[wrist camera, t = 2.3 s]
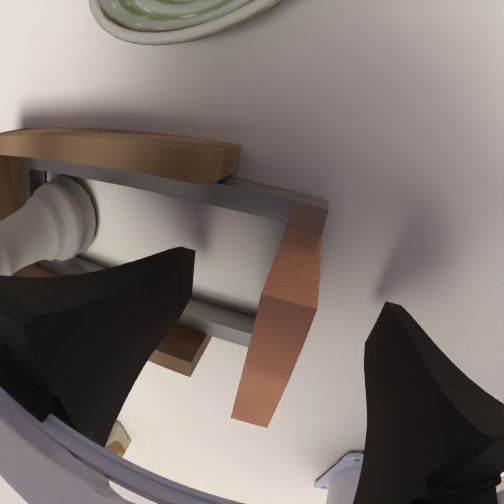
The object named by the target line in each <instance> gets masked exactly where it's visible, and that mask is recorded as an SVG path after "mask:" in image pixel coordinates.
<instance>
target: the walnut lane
mask: <svg viewBox="0 0 504 504" xmlns="http://www.w3.org/2000/svg"><path fill="white" fill-rule="evenodd" d="M240 148H241V146H239V145H233V144H228V143H222V142H216V141H209V140H203V139H196V138H189V137H182V136H174V135H165V134H156V133H146V132H135V131H123V130H108V129H87V128H23V129H17V130H12V131H7V132H3V133H0V221H2V220H4V219H6V218H7V217H9V216H10V215H11V214H13V213H15V212H16V211H18V210H19V209H21V208H22V207H23V206H24V205H25V203H24V190H23V170H22V157H28V158H37V159H46V160H54V161H62V162H69V163H77V164H84V165H91V166H97V167H104V168H110V169H117V170H123V171H129V172H134V173H140V174H146V175H151V176H157V177H162V178H168V179H173V180H178V181H183V182H188V183H193V184H198V185H203V186H209V185H211V184H213V183H215V182H217V181H219V180H220V179H222V178H224V177H226V176H228V175H230V174H232V173H234V172H236V171H237V165H238V159H239V154H240ZM12 276H19V277H56V276H61V275H59V274H57V273H55V272H52V271H50V270H48V269H46V268H44V267H43V266H41V265H39V264H37V263H32V264H30V265H27V266H25V267H23V268H21V269H20V270H18V271H16V272H15V273H13V274H12ZM211 338H212V336H211V335H208V334H205V333H202V332H199V331H196V330H193V329H190V328H187V327H184V326H181V325H178V324H176V323H175V324H174V326H173V327H172V328H171V330H170V331H169V332H168V334H167V335H166V336H165V338H164V339H163V340H162V342H161V343H160V344H159V345H158V347H157V348H156V349H155V351H154V352H153V353H152V355H151V356H150V358H149V359H148V361H150V362H153V363H155V364H158V365H160V366H163V367H165V368H168V369H170V370H173V371H175V372H178V373H180V374H183V375H186V376H189V377H191V375H192V373H193V371H194V369H195V367H196V365H197V364H198V362H199V360H200V358H201V356H202V354H203V353H204V351H205V349H206V347H207V345H208V343H209V341H210V340H211Z"/></svg>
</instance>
